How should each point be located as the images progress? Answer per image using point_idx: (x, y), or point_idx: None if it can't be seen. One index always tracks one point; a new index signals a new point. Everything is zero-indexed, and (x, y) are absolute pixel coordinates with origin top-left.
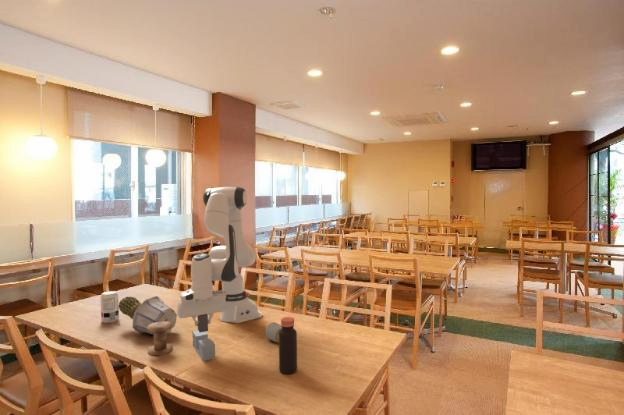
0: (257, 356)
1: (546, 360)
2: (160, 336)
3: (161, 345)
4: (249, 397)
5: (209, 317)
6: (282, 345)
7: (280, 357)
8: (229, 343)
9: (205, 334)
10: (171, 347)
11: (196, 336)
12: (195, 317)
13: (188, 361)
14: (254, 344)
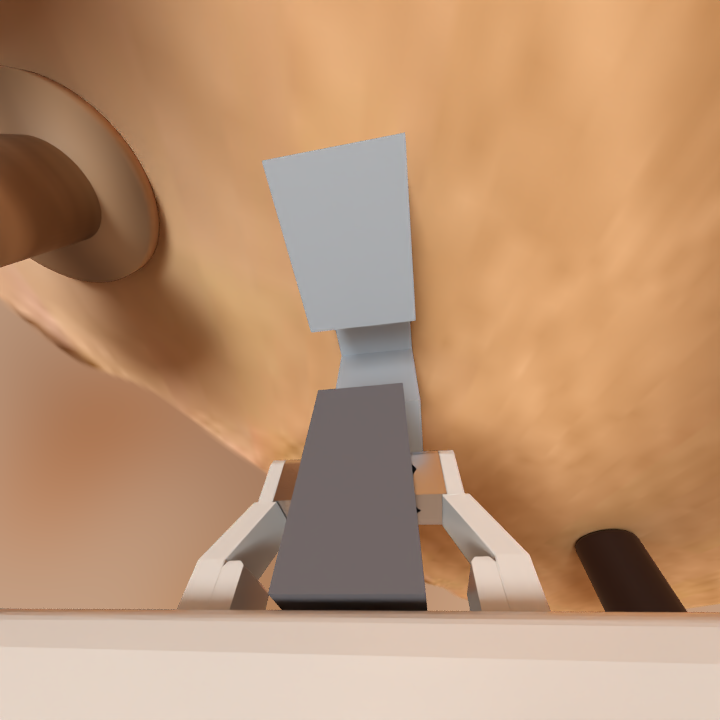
0: (593, 453)
1: None
2: None
3: (52, 249)
4: (442, 575)
5: (460, 533)
6: None
7: (603, 603)
8: (570, 257)
9: (396, 317)
10: (139, 214)
11: (315, 331)
12: (257, 605)
13: (293, 397)
14: (696, 337)
